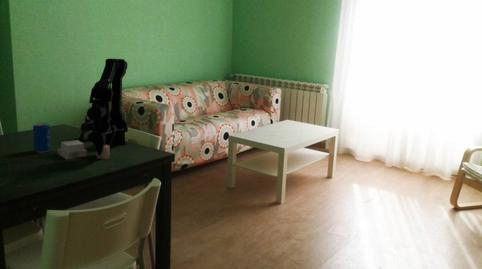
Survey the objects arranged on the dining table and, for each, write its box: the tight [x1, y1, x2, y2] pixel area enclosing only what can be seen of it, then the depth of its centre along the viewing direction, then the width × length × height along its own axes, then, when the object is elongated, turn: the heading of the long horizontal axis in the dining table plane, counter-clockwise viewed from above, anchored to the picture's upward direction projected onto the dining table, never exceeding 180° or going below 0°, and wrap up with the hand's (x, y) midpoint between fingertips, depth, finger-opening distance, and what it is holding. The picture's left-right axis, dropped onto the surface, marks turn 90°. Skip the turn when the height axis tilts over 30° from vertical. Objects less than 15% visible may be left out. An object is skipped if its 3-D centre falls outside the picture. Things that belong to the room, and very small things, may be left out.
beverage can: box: [32, 122, 52, 154], centre depth 190 cm, size 6×6×12 cm
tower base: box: [57, 147, 88, 160], centre depth 189 cm, size 9×9×3 cm
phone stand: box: [78, 114, 97, 142], centre depth 213 cm, size 9×6×12 cm, turn 103°
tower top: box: [60, 139, 85, 153], centre depth 188 cm, size 7×7×3 cm
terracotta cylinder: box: [96, 144, 111, 160], centre depth 187 cm, size 5×5×5 cm
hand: (103, 152), depth 187 cm, fingers open, 9 cm apart
